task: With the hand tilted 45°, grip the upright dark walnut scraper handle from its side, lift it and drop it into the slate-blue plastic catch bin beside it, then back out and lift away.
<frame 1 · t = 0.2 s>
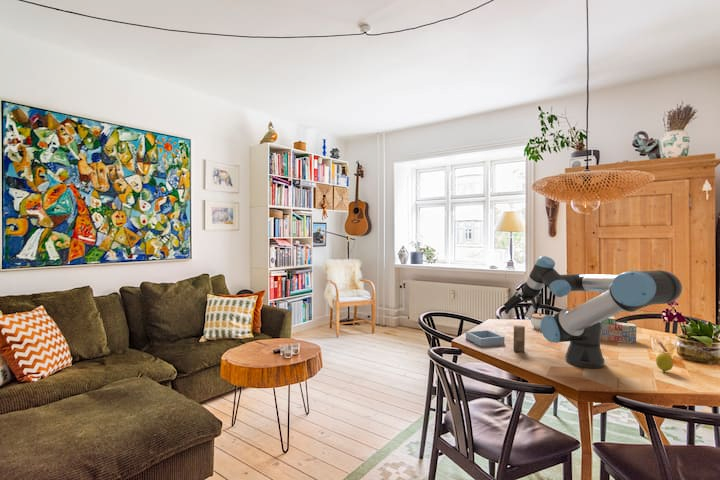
hand: (516, 317, 194), 15 cm above the table, tool tilted 35°, fingers open, 13 cm apart
lidded jar: (539, 328, 231), on the table
stack of blocks: (611, 340, 208), on the table
walnut handle: (518, 350, 187), on the table
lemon: (664, 372, 160), on the table
catch bin: (484, 341, 202), on the table
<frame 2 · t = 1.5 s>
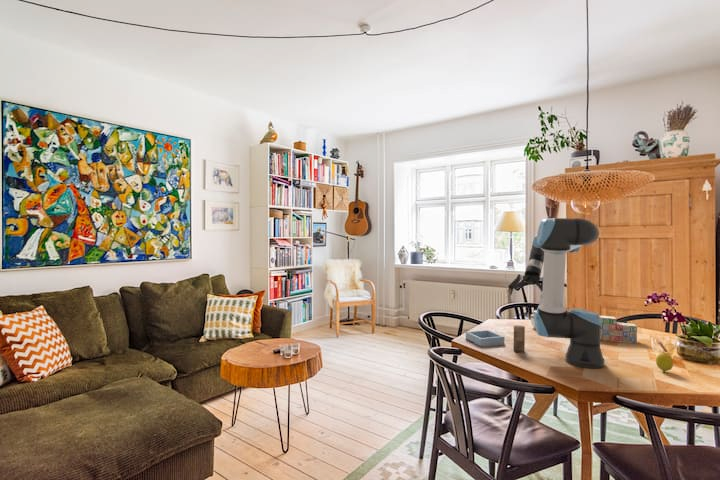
hand: (525, 301, 195), 23 cm above the table, tool tilted 45°, fingers open, 13 cm apart
nothing on the table moved.
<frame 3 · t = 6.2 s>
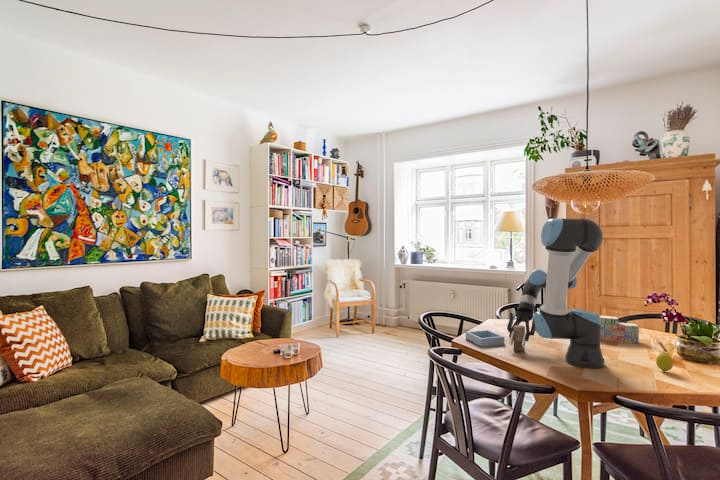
hand: (516, 345, 184), 4 cm above the table, tool tilted 45°, fingers closed on walnut handle, 5 cm apart
walnut handle: (518, 350, 187), on the table, touching gripper
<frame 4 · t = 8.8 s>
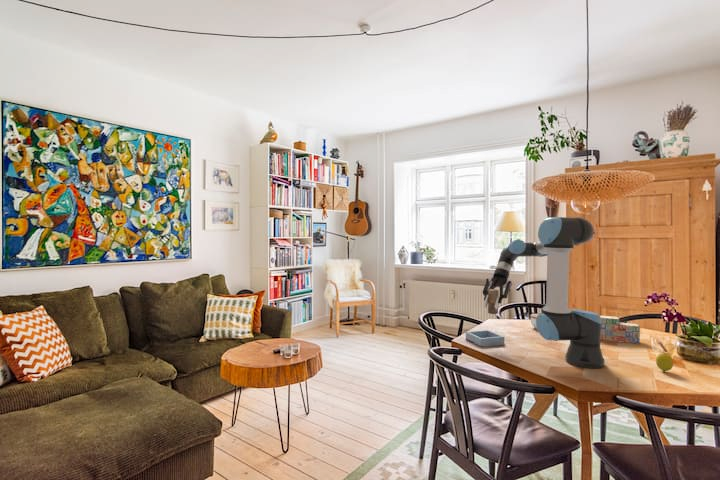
hand: (490, 306, 197), 20 cm above the table, tool tilted 45°, fingers closed on walnut handle, 5 cm apart
walnut handle: (492, 312, 200), point 16 cm above the table, touching gripper
when the fingers open (6 cm above the table, at t = 11.7 s): walnut handle drops 2 cm, resting on catch bin.
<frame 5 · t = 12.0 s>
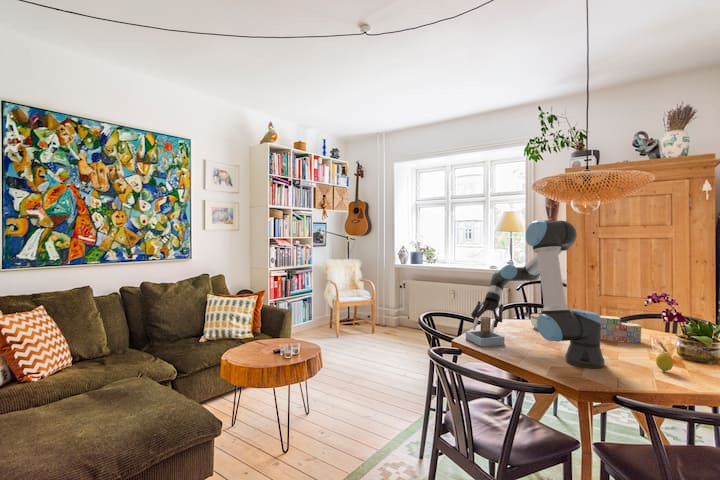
hand: (482, 330, 200), 7 cm above the table, tool tilted 45°, fingers open, 9 cm apart
walnut handle: (485, 340, 202), point 1 cm above the table, touching catch bin
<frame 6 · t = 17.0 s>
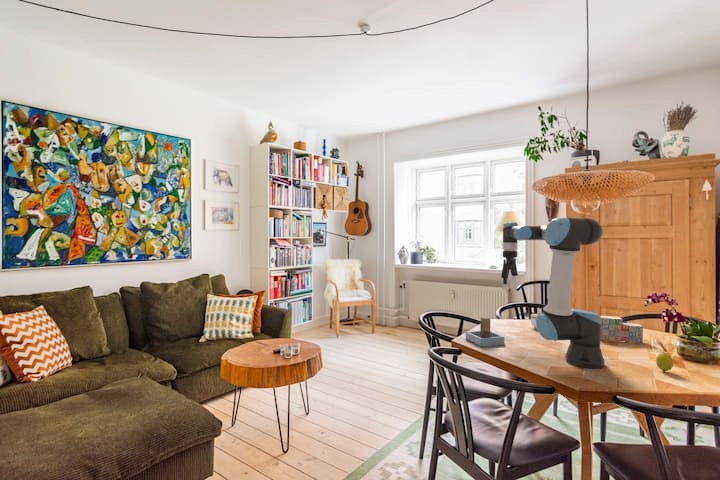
hand: (509, 288, 212), 27 cm above the table, tool pointing down, fingers open, 13 cm apart
at the end: walnut handle inside the target area on the catch bin (0.3 cm from its centre), point 0.6 cm above the catch bin's base; the gripper is holding nothing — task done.
